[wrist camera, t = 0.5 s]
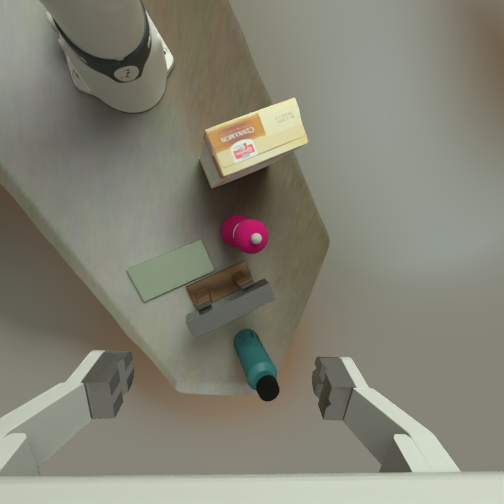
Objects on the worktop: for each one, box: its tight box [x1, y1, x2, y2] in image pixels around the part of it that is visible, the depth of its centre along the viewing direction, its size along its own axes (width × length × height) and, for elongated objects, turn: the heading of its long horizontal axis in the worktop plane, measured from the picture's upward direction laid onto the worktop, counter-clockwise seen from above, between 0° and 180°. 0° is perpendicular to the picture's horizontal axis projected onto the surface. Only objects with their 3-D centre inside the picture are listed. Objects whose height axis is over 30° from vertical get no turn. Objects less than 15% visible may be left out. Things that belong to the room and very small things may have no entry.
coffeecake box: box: [199, 98, 308, 189], centre depth 44 cm, size 15×7×20 cm, turn 113°
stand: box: [186, 261, 255, 311], centre depth 50 cm, size 6×15×14 cm, turn 112°
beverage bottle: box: [234, 329, 279, 401], centre depth 51 cm, size 6×7×20 cm
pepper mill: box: [221, 215, 268, 254], centre depth 46 cm, size 7×7×20 cm
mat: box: [127, 239, 214, 302], centre depth 53 cm, size 8×17×1 cm, turn 112°
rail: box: [186, 279, 275, 339], centre depth 43 cm, size 4×16×3 cm, turn 112°
